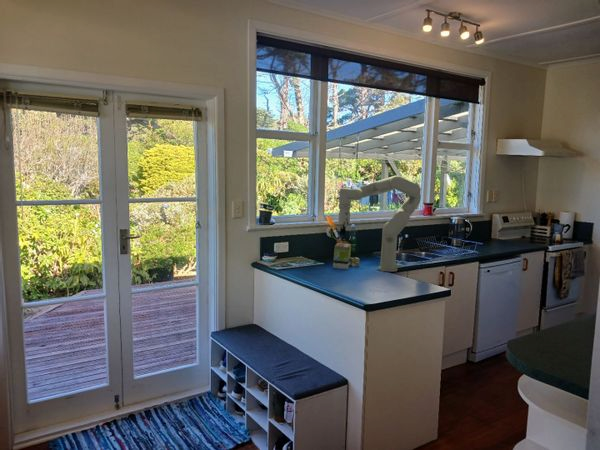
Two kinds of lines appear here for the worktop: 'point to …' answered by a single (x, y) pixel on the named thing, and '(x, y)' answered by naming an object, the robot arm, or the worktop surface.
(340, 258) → the tea box
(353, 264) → the birch block
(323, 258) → the worktop surface
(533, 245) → the worktop surface
